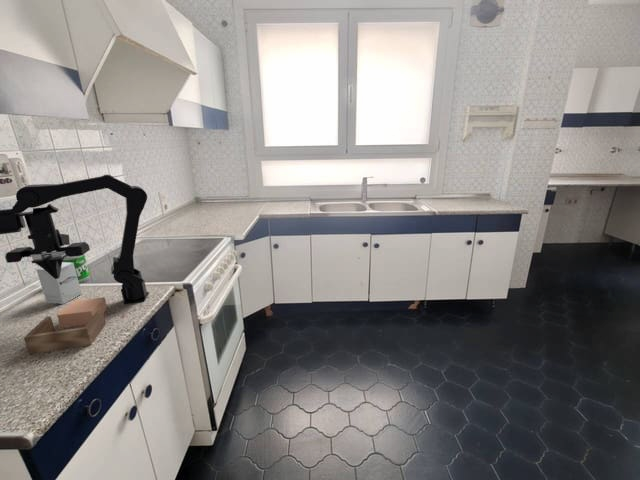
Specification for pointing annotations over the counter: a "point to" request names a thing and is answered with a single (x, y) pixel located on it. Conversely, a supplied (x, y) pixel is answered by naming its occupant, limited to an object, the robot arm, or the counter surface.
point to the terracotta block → (81, 311)
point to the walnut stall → (63, 335)
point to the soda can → (79, 267)
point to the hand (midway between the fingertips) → (57, 278)
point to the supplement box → (60, 284)
